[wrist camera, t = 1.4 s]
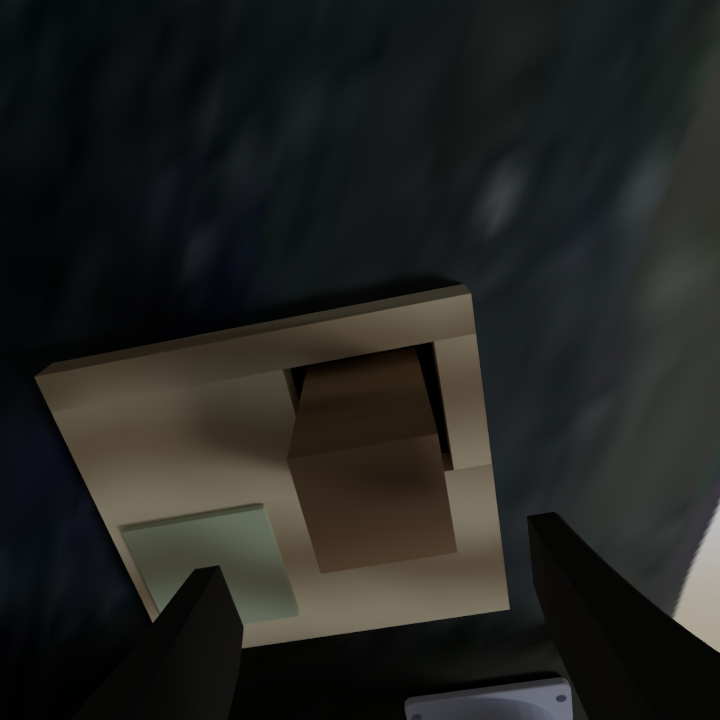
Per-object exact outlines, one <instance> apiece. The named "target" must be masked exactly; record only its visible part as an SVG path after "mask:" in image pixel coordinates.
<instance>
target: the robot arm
mask: <svg viewBox="0 0 720 720" xmlns="http://www.w3.org/2000/svg"><path fill="white" fill-rule="evenodd" d="M527 521H528V531H529V542H530V552H531V563H532V573H533V584H534V587H535V590H536V593H537V596H538V599H539V603H540V606H541V609H542V612H543V615H544V618H545V621H546V624H547V627H548V629H549V632H550V634H551V636H552V639H553V641H554V643H555V645H556V648H557V650H558V652H559V654H560V657H561V659H562V661H563V663H564V666H565V668H566V670H567V672H568V674H569V677H570V679H571V681H572V683H573V686H574V688H575V690H576V692H577V694H578V697H579V699H580V701H581V703H582V706H583V708H584V710H585V712H586V714H587V717H588V719H589V720H720V653H719V652H717V651H716V650H714V649H713V648H712V647H710V646H709V645H707V644H706V643H705V642H703V641H702V640H700V639H699V638H698V637H696V636H695V635H693V634H692V633H691V632H689V631H688V630H687V629H685V628H684V627H683V626H681V625H680V624H679V623H677V622H676V621H675V620H673V619H672V618H671V617H670V616H668V615H667V614H666V613H665V612H663V611H662V610H661V609H660V608H658V607H657V606H656V605H655V604H653V603H652V602H651V601H650V600H649V599H647V598H646V597H645V596H644V595H642V594H641V593H640V592H639V591H638V590H637V589H635V588H634V587H633V586H632V585H631V584H630V583H629V582H627V581H626V580H625V579H624V578H623V577H622V576H621V575H620V574H619V573H617V572H616V571H615V570H614V569H613V568H612V567H611V566H610V565H609V564H607V563H606V562H605V561H604V560H603V559H602V558H601V557H600V556H599V555H598V554H597V553H596V552H595V551H594V550H593V549H592V548H591V547H590V546H589V545H588V544H587V543H586V542H585V541H584V540H583V539H582V538H581V537H580V536H579V535H578V534H577V533H576V532H575V531H574V530H573V529H572V528H571V527H570V526H569V525H568V524H567V523H566V522H565V521H564V520H563V519H562V517H561V516H560V515H558V514H557V513H555V512H551V513H544V514H538V515H532V516H527ZM243 631H244V626H243V624H242V621H241V619H240V616H239V613H238V611H237V608H236V606H235V603H234V601H233V598H232V596H231V593H230V591H229V588H228V586H227V583H226V581H225V578H224V576H223V573H222V571H221V568H220V565H217V566H211V567H204V568H198V569H194V571H193V572H192V573H191V574H190V575H189V577H188V578H187V579H186V581H185V582H184V583H183V584H182V586H181V587H180V588H179V590H178V591H177V592H176V593H175V595H174V596H173V597H172V599H171V600H170V601H169V603H168V604H167V605H166V607H165V608H164V609H163V610H162V612H161V613H160V614H159V616H158V617H157V618H156V619H155V621H154V622H153V623H152V625H151V626H150V627H149V628H148V630H147V631H146V632H145V633H144V635H143V636H142V637H141V638H140V640H139V641H138V642H137V644H136V645H135V646H134V647H133V648H132V650H131V651H130V652H129V653H128V654H127V656H126V657H125V658H124V659H123V660H122V661H121V663H120V664H119V665H118V666H117V667H116V668H115V670H114V671H113V672H112V673H111V674H110V675H109V677H108V678H107V679H106V680H105V681H104V682H103V684H102V685H101V686H100V687H99V688H98V689H97V691H96V692H95V693H94V694H93V695H92V696H91V697H90V698H89V699H88V700H87V702H86V703H85V704H84V705H83V706H82V707H81V708H80V709H79V710H78V711H77V712H76V713H75V714H74V715H73V716H72V717H71V718H70V719H69V720H228V717H229V712H230V708H231V704H232V700H233V695H234V691H235V687H236V682H237V678H238V673H239V666H240V658H241V650H242V641H243ZM404 706H405V714H406V718H407V720H573V713H572V698H571V688H570V686H569V683H568V681H567V680H566V679H564V678H561V677H557V678H549V679H542V680H534V681H527V682H520V683H512V684H505V685H498V686H490V687H483V688H475V689H468V690H461V691H453V692H446V693H438V694H431V695H424V696H416V697H411V698H409V699H407V700H406V701H405V705H404Z"/></svg>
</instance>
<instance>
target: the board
mask: <svg viewBox="0 0 720 720" xmlns="http://www.w3.org/2000/svg"><path fill="white" fill-rule="evenodd" d="M428 342H432V348H433V354H434V360H435V367H436V373H437V379H438V386H439V392H440V398H441V405H442V411H443V417H444V424H445V430H446V436H447V443H448V449H449V452H448V453H442V454H441V455H442V461H443V468H444V474H445V480H446V486H447V492H448V498H449V504H450V510H451V516H452V522H453V528H454V534H455V540H456V546H457V553H453V554H446V555H440V556H433V557H427V558H420V559H414V560H407V561H401V562H394V563H388V564H381V565H375V566H368V567H362V568H356V569H349V570H343V571H336V572H330V573H323V574H321V573H320V570H319V566H318V563H317V560H316V556H315V553H314V550H313V546H312V543H311V540H310V536H309V533H308V530H307V526H306V523H305V520H304V516H303V513H302V510H301V506H300V503H299V499H298V496H297V493H296V489H295V486H294V483H293V479H292V476H291V473H290V469H289V466H288V463H287V455H288V451H289V446H290V442H291V438H292V433H293V429H294V424H295V420H296V415H297V411H298V406H299V398H298V394H297V391H296V387H295V383H294V380H293V376H292V373H291V369H290V368H293V367H299V366H304V365H310V364H315V363H320V362H326V361H331V360H336V359H342V358H347V357H353V356H358V355H363V354H369V353H374V352H380V351H385V350H390V349H396V348H401V347H407V346H412V345H417V344H423V343H428ZM34 378H35V380H36V382H37V384H38V386H39V388H40V390H41V392H42V394H43V396H44V398H45V400H46V402H47V404H48V407H49V409H50V411H51V413H52V415H53V417H54V419H55V421H56V423H57V425H58V427H59V429H60V431H61V433H62V436H63V438H64V440H65V442H66V444H67V446H68V448H69V450H70V452H71V454H72V456H73V458H74V460H75V462H76V465H77V467H78V469H79V471H80V473H81V475H82V477H83V479H84V481H85V483H86V485H87V487H88V489H89V491H90V494H91V496H92V498H93V500H94V502H95V504H96V506H97V508H98V510H99V512H100V514H101V516H102V518H103V520H104V523H105V525H106V527H107V529H108V531H109V533H110V535H111V537H112V539H113V541H114V543H115V545H116V547H117V549H118V552H119V554H120V556H121V558H122V560H123V562H124V564H125V566H126V568H127V570H128V572H129V574H130V576H131V578H132V581H133V583H134V585H135V587H136V589H137V591H138V593H139V595H140V597H141V599H142V601H143V603H144V605H145V608H146V610H147V612H148V614H149V616H150V618H151V620H152V622H154V621H155V619H156V618H157V617H158V616H159V614H160V613H161V612H162V610H163V609H164V608H165V607H166V605H167V604H168V603H169V601H170V600H171V599H172V597H173V596H174V595H175V593H176V592H177V591H178V590H179V588H180V587H181V586H182V584H183V583H184V582H185V581H186V579H187V578H188V577H189V575H190V574H191V573H192V572H193V571H194V569H198V568H204V567H211V566H217V565H220V568H221V571H222V573H223V576H224V578H225V581H226V583H227V586H228V588H229V591H230V593H231V596H232V598H233V601H234V603H235V606H236V608H237V611H238V613H239V616H240V619H241V621H242V624H243V626H244V631H243V641H242V648H247V647H254V646H261V645H268V644H275V643H282V642H288V641H295V640H302V639H309V638H316V637H323V636H330V635H336V634H343V633H350V632H357V631H364V630H371V629H378V628H384V627H391V626H398V625H405V624H412V623H419V622H426V621H432V620H439V619H446V618H453V617H460V616H467V615H474V614H480V613H487V612H494V611H501V610H508V609H510V608H509V600H508V592H507V583H506V575H505V567H504V559H503V551H502V543H501V535H500V526H499V518H498V510H497V502H496V494H495V486H494V477H493V469H492V461H491V453H490V445H489V437H488V429H487V420H486V412H485V404H484V396H483V388H482V380H481V372H480V363H479V355H478V347H477V339H476V331H475V323H474V314H473V306H472V298H471V293H470V291H469V290H468V289H467V287H466V286H465V284H460V285H455V286H450V287H445V288H440V289H435V290H429V291H424V292H419V293H414V294H409V295H403V296H398V297H393V298H388V299H383V300H378V301H372V302H367V303H362V304H357V305H352V306H346V307H341V308H336V309H331V310H326V311H321V312H315V313H310V314H305V315H300V316H295V317H289V318H284V319H279V320H274V321H269V322H263V323H258V324H253V325H248V326H243V327H238V328H232V329H227V330H222V331H217V332H212V333H206V334H201V335H196V336H191V337H186V338H181V339H175V340H170V341H165V342H160V343H155V344H149V345H144V346H139V347H134V348H129V349H124V350H118V351H113V352H108V353H103V354H98V355H92V356H87V357H82V358H77V359H72V360H67V361H61V362H56V363H52V364H51V365H50V366H48V367H47V368H46V369H44V370H43V371H42V372H40V373H39V374H38V375H36V376H35V377H34Z"/></svg>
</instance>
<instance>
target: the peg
mask: <svg viewBox="0 0 720 720" xmlns="http://www.w3.org/2000/svg"><path fill="white" fill-rule="evenodd" d="M287 463H288V466H289V469H290V473H291V476H292V479H293V483H294V486H295V489H296V493H297V496H298V499H299V503H300V506H301V510H302V513H303V516H304V520H305V523H306V526H307V530H308V533H309V536H310V540H311V543H312V546H313V550H314V553H315V556H316V560H317V563H318V566H319V570H320V573H321V574H323V573H330V572H336V571H343V570H349V569H356V568H362V567H368V566H375V565H381V564H388V563H394V562H401V561H407V560H414V559H420V558H427V557H433V556H440V555H446V554H453V553H457V546H456V540H455V534H454V528H453V522H452V516H451V510H450V504H449V498H448V492H447V486H446V480H445V474H444V468H443V461H442V455H441V449H440V443H439V437H438V432H437V428H436V424H435V421H434V417H433V413H432V409H431V405H430V401H429V398H428V394H427V390H426V386H425V382H424V379H423V375H422V371H421V367H420V363H419V359H418V356H417V352H416V348H409V349H404V350H398V351H393V352H387V353H382V354H377V355H371V356H366V357H360V358H355V359H350V360H344V361H339V362H333V363H328V364H323V365H317V366H312V367H307V370H306V375H305V379H304V384H303V388H302V393H301V397H300V402H299V406H298V411H297V415H296V420H295V424H294V429H293V433H292V438H291V442H290V446H289V451H288V455H287Z"/></svg>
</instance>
